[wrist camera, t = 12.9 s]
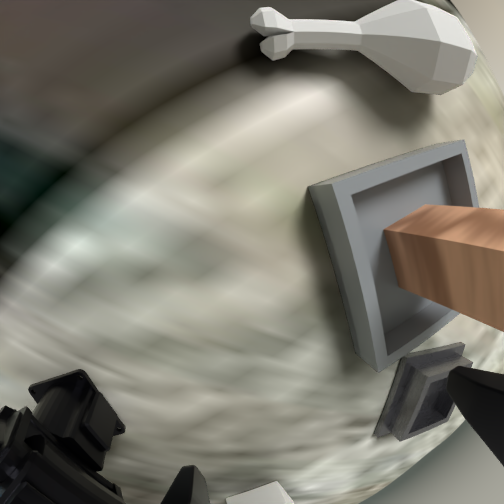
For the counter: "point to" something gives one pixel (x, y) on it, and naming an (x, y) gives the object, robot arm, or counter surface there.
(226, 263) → the counter surface
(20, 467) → the robot arm
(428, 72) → the chicken leg
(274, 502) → the milk
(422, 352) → the grey square base plate
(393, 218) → the tray
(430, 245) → the block
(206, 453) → the counter surface
